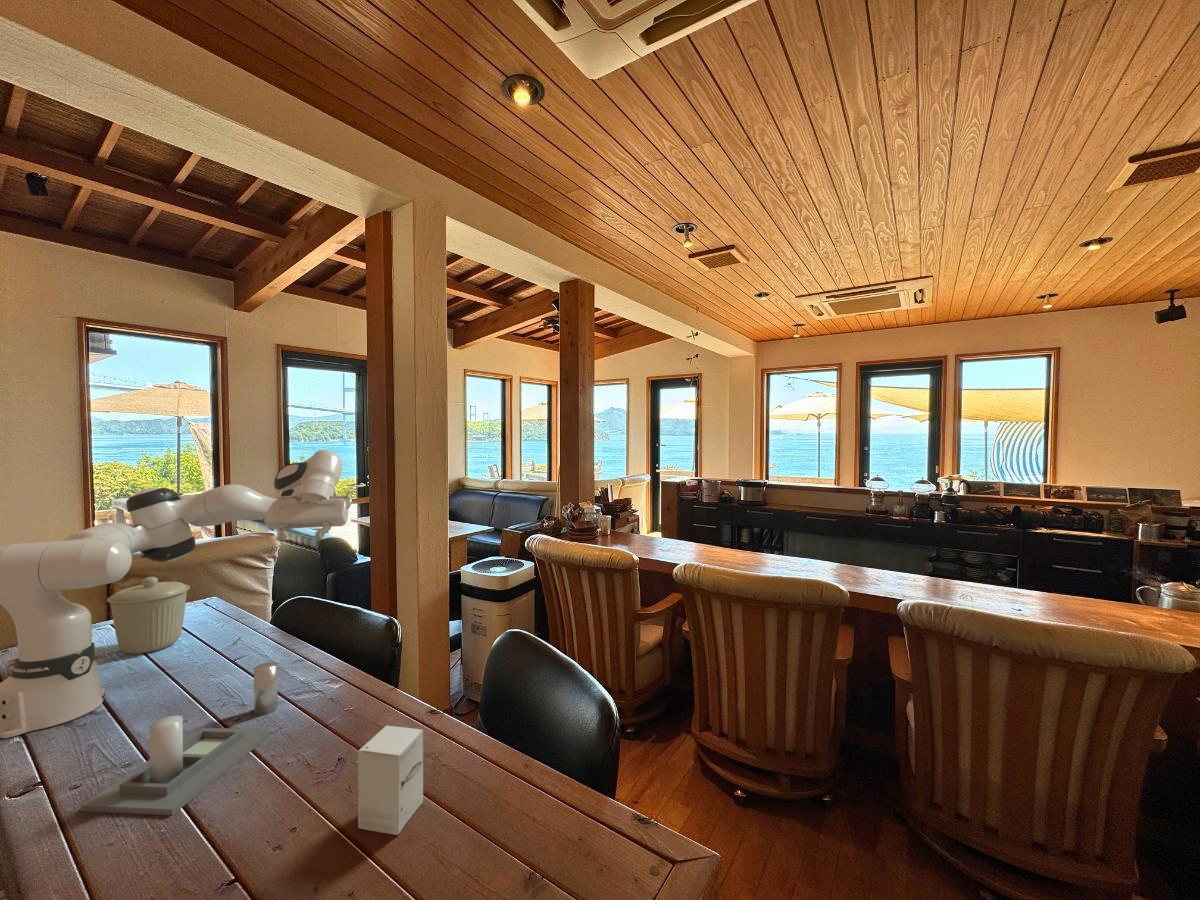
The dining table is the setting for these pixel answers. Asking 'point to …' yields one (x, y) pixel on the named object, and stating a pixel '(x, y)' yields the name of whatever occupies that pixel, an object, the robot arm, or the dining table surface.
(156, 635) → the canister
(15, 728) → the robot arm
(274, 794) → the dining table surface
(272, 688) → the cylinder
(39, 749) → the dining table surface
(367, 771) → the supplement box
